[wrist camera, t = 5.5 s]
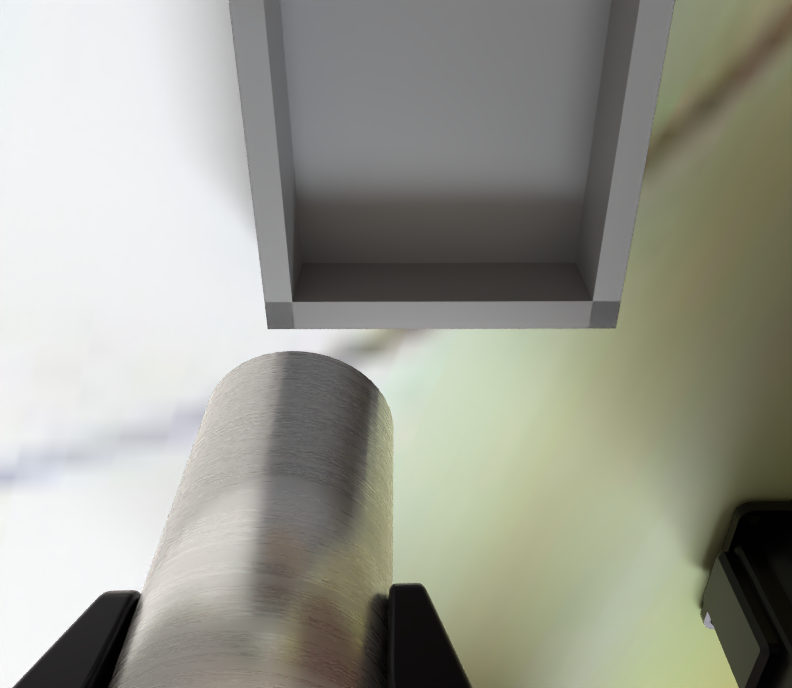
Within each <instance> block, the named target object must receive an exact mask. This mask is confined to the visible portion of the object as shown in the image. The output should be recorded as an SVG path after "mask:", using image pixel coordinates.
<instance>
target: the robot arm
mask: <svg viewBox="0 0 792 688" xmlns="http://www.w3.org/2000/svg"><path fill="white" fill-rule="evenodd" d="M750 516H751V517H750ZM140 596H141V594H140V593H139V592H138V591H135V590H123V591H108V592H105V593H103V594H102V595H100V596H99V597H98V598H97V599H96V600H95V601H94V602H93V603H92V604H91V605H90V607H89V608H88V609H87V610H86V611H85V612H84V613H83V614H82V615H81V616H80V617H79V618H78V619H77V620H76V621H75V622H74V623H73V624H72V626H71V627H70V628H69V629H68V630H67V631H66V632H65V633H64V634H63V635H62V636H61V637H60V638H59V639H58V640H57V641H56V642H55V643H54V645H53V646H52V647H51V648H50V649H49V650H48V651H47V652H46V653H45V654H44V655H43V656H42V657H41V658H40V659H39V660H38V661H37V662H36V664H35V665H34V666H33V667H32V668H31V669H30V670H29V671H28V672H27V673H26V674H25V675H24V676H23V677H22V678H21V679H20V680H19V681H18V682H17V684H16V685H15V686H14V687H13V688H108V687H109V684H110V681H111V678H112V675H113V672H114V670H115V667H116V664H117V661H118V658H119V655H120V653H121V650H122V647H123V644H124V641H125V638H126V636H127V633H128V630H129V627H130V624H131V621H132V619H133V616H134V613H135V610H136V607H137V604H138V601H139V599H140ZM703 602H704V604H703V607H702V610H701V618H702V620H703V623H704V625H705V626H706V627H707V628H709V629H715V631H716V633H717V636H718V638H719V641H720V643H721V645H722V648H723V650H724V653H725V655H726V657H727V660H728V662H729V665H730V667H731V670H732V672H733V674H734V677H735V679H736V682H737V684H738V686H739V688H792V502H749V503H745V504H742V505H740V506H739V507H738V508H737V509H736V510H735V512H734V514H733V517H732V520H731V523H730V526H729V529H728V532H727V535H726V538H725V541H724V544H723V547H722V550H721V552H720V553H719V555H718V556H717V557H716V560H715V563H714V566H713V569H712V572H711V575H710V578H709V581H708V584H707V587H706V590H705V593H704V596H703ZM387 687H388V688H472V686H471V684H470V682H469V680H468V677H467V675H466V673H465V671H464V669H463V667H462V665H461V663H460V660H459V658H458V656H457V654H456V652H455V650H454V648H453V646H452V643H451V641H450V639H449V637H448V635H447V633H446V631H445V629H444V626H443V624H442V622H441V620H440V618H439V616H438V614H437V612H436V609H435V607H434V605H433V603H432V601H431V599H430V597H429V595H428V592H427V590H426V589H425V587H424V586H423V585H422V584H420V583H399V584H393V585H392V586H390V588H389V605H388V648H387Z"/></svg>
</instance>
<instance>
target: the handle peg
mask: <svg viewBox="0 0 792 688" xmlns="http://www.w3.org/2000/svg"><path fill="white" fill-rule="evenodd" d="M392 574H393V420H392V415H391V412H390V409H389V406H388V404H387V402H386V400H385V398H384V396H383V395H382V393H381V392H380V391H379V389H378V388H377V387H376V386H375V385H374V384H373V382H372V381H371V380H369V379H368V378H367V377H366V376H365V375H364V374H362V373H361V372H359V371H358V370H356V369H355V368H353V367H352V366H350V365H348V364H346V363H344V362H342V361H339V360H337V359H334V358H331V357H328V356H325V355H320V354H316V353H309V352H299V351H287V352H276V353H271V354H266V355H262V356H259V357H256V358H253V359H251V360H249V361H247V362H244V363H242V364H241V365H239V366H238V367H236V368H234V369H233V370H232V371H230V372H229V373H228V374H227V375H226V376H225V377H224V378H223V379H222V380H221V381H220V382H219V384H218V385H217V386H216V388H215V390H214V391H213V393H212V395H211V398H210V400H209V403H208V406H207V408H206V411H205V414H204V417H203V420H202V423H201V425H200V428H199V431H198V434H197V437H196V440H195V442H194V445H193V448H192V451H191V454H190V457H189V460H188V462H187V465H186V468H185V471H184V474H183V477H182V479H181V482H180V485H179V488H178V491H177V494H176V496H175V499H174V502H173V505H172V508H171V511H170V513H169V516H168V519H167V522H166V525H165V528H164V530H163V533H162V536H161V539H160V542H159V545H158V548H157V550H156V553H155V556H154V559H153V562H152V565H151V567H150V570H149V573H148V576H147V579H146V582H145V584H144V587H143V590H142V593H141V596H140V599H139V601H138V604H137V607H136V610H135V613H134V616H133V619H132V621H131V624H130V627H129V630H128V633H127V636H126V638H125V641H124V644H123V647H122V650H121V653H120V655H119V658H118V661H117V664H116V667H115V670H114V672H113V675H112V678H111V681H110V684H109V687H108V688H388V687H387V648H388V605H389V588H390V586H392Z"/></svg>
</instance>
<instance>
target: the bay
mask: <svg viewBox="0 0 792 688" xmlns="http://www.w3.org/2000/svg"><path fill="white" fill-rule="evenodd" d="M674 3H675V0H229V6H230V14H231V23H232V31H233V40H234V48H235V56H236V65H237V73H238V82H239V90H240V99H241V107H242V115H243V124H244V132H245V141H246V149H247V157H248V166H249V174H250V183H251V191H252V200H253V208H254V216H255V225H256V233H257V242H258V250H259V259H260V267H261V275H262V284H263V292H264V301H265V309H266V317H267V326H268V329H526V328H616V324H617V319H618V313H619V307H620V302H621V296H622V291H623V285H624V280H625V274H626V269H627V263H628V258H629V252H630V246H631V241H632V235H633V230H634V224H635V219H636V213H637V208H638V202H639V197H640V191H641V186H642V180H643V174H644V169H645V163H646V158H647V152H648V147H649V141H650V136H651V130H652V125H653V119H654V114H655V108H656V102H657V97H658V91H659V86H660V80H661V75H662V69H663V64H664V58H665V53H666V47H667V42H668V36H669V30H670V25H671V19H672V14H673V8H674Z"/></svg>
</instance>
